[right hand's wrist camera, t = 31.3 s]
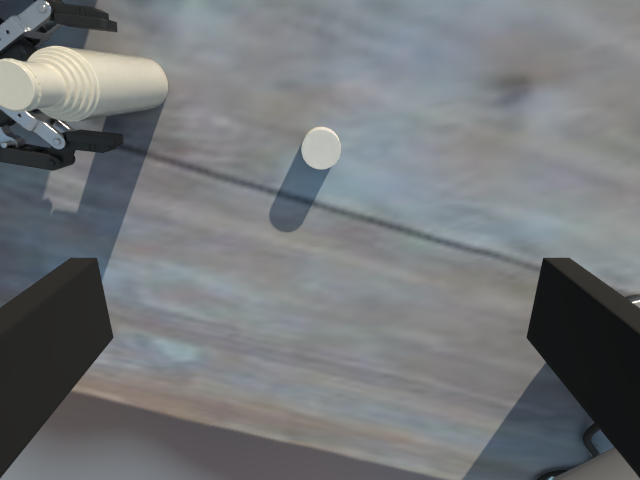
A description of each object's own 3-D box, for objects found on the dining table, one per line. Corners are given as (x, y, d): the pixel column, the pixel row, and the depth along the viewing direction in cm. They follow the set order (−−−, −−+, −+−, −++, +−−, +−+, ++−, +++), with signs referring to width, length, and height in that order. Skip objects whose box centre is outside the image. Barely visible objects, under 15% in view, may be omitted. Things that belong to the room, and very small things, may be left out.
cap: (294, 150, 41) (293, 154, 39) (317, 118, 40) (316, 121, 38) (325, 172, 42) (325, 177, 40) (347, 142, 41) (349, 145, 39)
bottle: (110, 64, 39) (-53, 50, 22) (157, 51, 38) (28, 27, 21) (130, 114, 40) (-8, 138, 23) (175, 102, 40) (68, 119, 23)
